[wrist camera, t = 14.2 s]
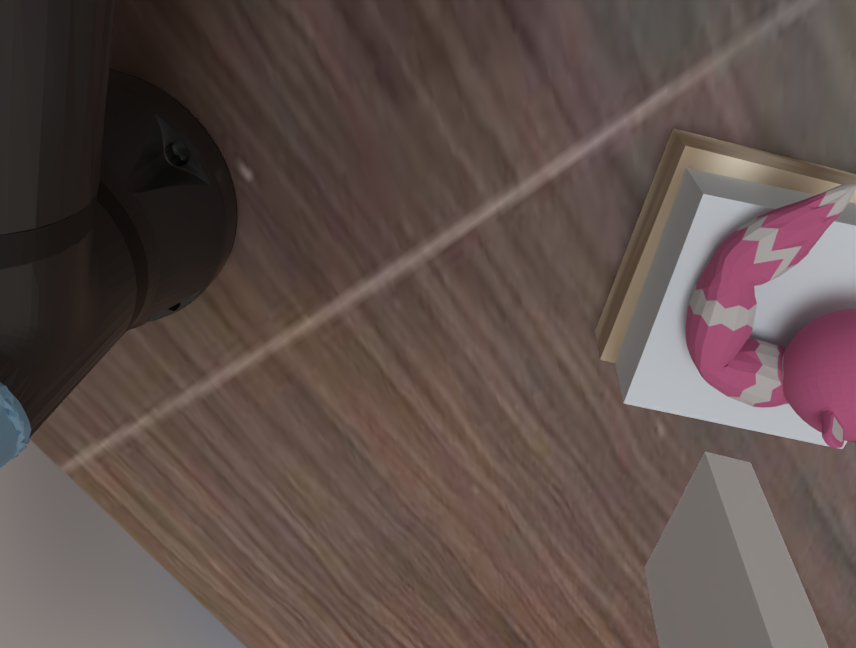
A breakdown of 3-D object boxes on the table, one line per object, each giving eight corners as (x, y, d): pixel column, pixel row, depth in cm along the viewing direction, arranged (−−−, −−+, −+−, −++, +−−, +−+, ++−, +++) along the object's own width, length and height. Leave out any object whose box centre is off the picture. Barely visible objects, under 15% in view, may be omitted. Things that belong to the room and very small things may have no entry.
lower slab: (594, 326, 47) (599, 359, 44) (671, 125, 41) (685, 145, 37) (793, 375, 48) (814, 412, 44) (900, 182, 41) (936, 208, 38)
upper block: (615, 364, 44) (623, 403, 40) (686, 167, 38) (703, 193, 34) (816, 406, 44) (842, 449, 40) (919, 216, 38) (959, 247, 34)
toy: (978, 277, 35) (983, 477, 31) (808, 328, 43) (793, 495, 38) (817, 150, 32) (798, 355, 27) (663, 230, 39) (628, 401, 35)
